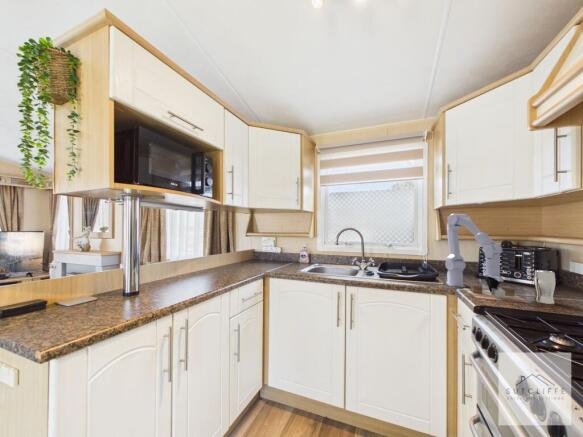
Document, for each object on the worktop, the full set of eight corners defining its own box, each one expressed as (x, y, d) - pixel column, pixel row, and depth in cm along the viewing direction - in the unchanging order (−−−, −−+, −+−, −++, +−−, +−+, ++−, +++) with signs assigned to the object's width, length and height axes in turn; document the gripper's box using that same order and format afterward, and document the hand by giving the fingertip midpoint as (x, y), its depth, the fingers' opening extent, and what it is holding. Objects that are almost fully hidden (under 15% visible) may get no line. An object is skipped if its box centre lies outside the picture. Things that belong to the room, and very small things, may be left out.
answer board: (461, 288, 140) (461, 287, 140) (508, 292, 133) (508, 291, 133) (476, 298, 121) (476, 297, 121) (531, 303, 114) (531, 302, 114)
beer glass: (537, 303, 114) (537, 271, 114) (532, 299, 120) (532, 269, 120) (558, 306, 110) (557, 273, 110) (552, 302, 116) (551, 271, 116)
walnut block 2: (501, 293, 128) (501, 286, 128) (510, 294, 127) (510, 286, 127) (505, 295, 125) (505, 287, 125) (514, 296, 123) (514, 288, 123)
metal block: (491, 295, 124) (491, 288, 124) (500, 296, 122) (500, 288, 123) (495, 298, 120) (495, 290, 120) (505, 299, 119) (505, 290, 119)
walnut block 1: (470, 290, 133) (470, 283, 133) (478, 291, 131) (478, 284, 132) (473, 292, 129) (473, 285, 129) (482, 293, 128) (482, 286, 128)
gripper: (476, 263, 135) (477, 288, 135) (491, 268, 121) (491, 295, 121) (491, 264, 133) (491, 289, 133) (508, 269, 119) (508, 296, 119)
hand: (492, 292), depth 127 cm, fingers closed
